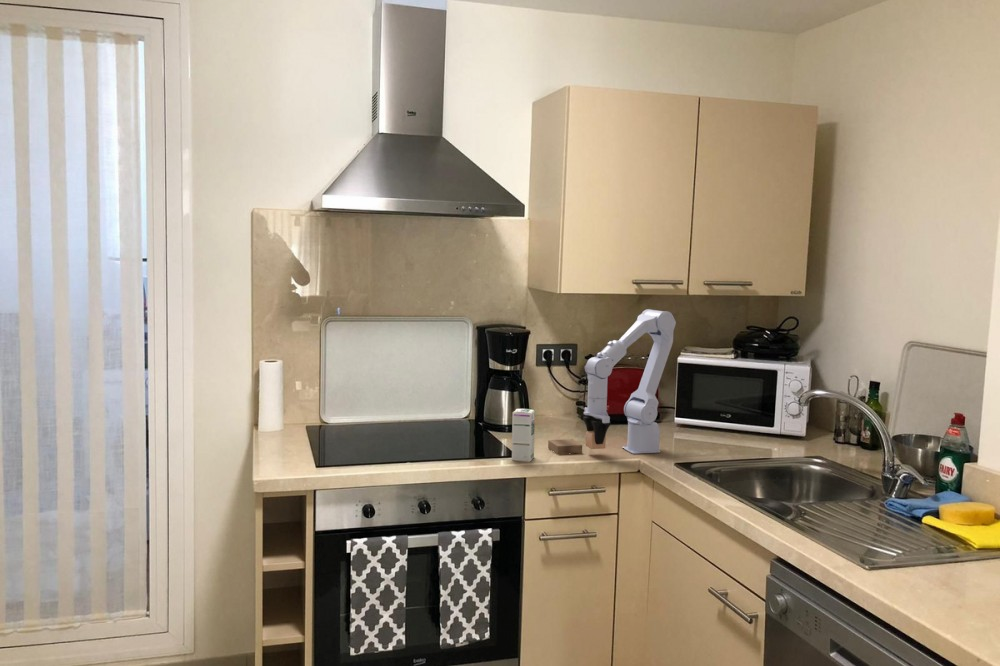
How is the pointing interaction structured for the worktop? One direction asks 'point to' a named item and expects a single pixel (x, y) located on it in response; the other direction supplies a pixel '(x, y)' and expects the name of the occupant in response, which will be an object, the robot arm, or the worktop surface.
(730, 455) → the worktop surface
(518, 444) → the syrup box
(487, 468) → the worktop surface
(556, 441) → the walnut block
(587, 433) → the cube
